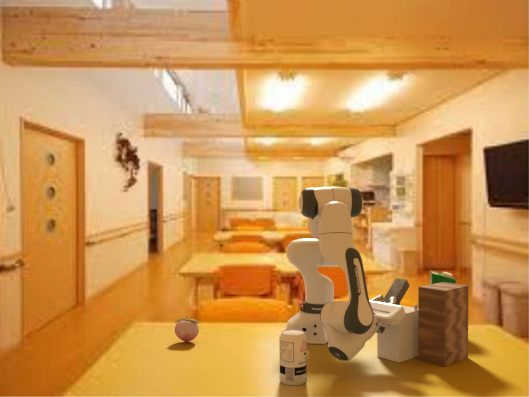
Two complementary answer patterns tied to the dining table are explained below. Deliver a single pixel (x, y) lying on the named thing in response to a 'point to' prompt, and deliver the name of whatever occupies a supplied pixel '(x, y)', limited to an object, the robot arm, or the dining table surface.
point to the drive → (395, 294)
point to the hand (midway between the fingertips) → (387, 297)
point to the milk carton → (441, 277)
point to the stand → (442, 323)
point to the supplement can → (293, 357)
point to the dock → (400, 338)
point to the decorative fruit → (186, 329)
